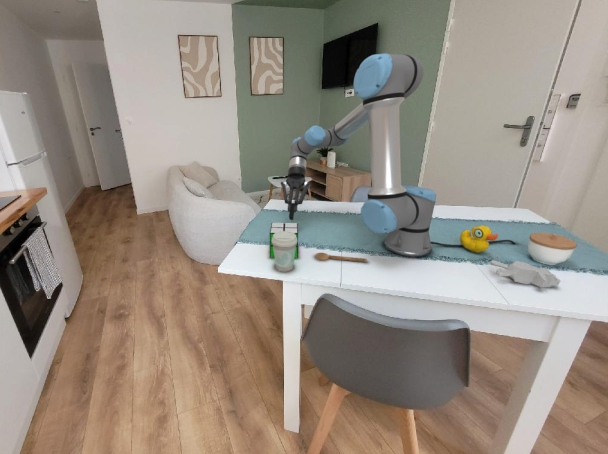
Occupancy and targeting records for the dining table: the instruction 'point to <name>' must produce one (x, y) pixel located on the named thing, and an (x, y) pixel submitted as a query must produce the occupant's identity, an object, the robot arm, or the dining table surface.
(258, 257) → the dining table surface
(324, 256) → the wooden spoon
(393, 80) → the robot arm
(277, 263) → the coffee cup
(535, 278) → the bunny figurine
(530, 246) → the trinket box
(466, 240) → the duckling
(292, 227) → the puzzle cube
